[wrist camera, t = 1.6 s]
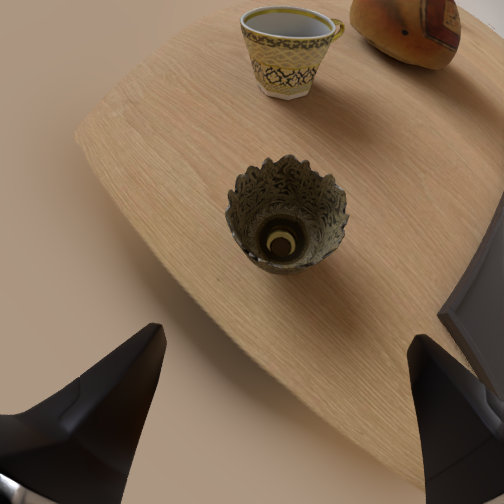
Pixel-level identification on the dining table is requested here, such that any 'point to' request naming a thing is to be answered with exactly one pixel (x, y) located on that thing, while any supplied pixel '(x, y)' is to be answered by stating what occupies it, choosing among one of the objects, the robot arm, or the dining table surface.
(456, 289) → the dark gray tray
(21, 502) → the robot arm
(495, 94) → the dining table surface
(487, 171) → the dining table surface
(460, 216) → the dining table surface
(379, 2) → the ceramic pitcher
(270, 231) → the cup
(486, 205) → the dining table surface
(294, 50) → the ceramic cup
